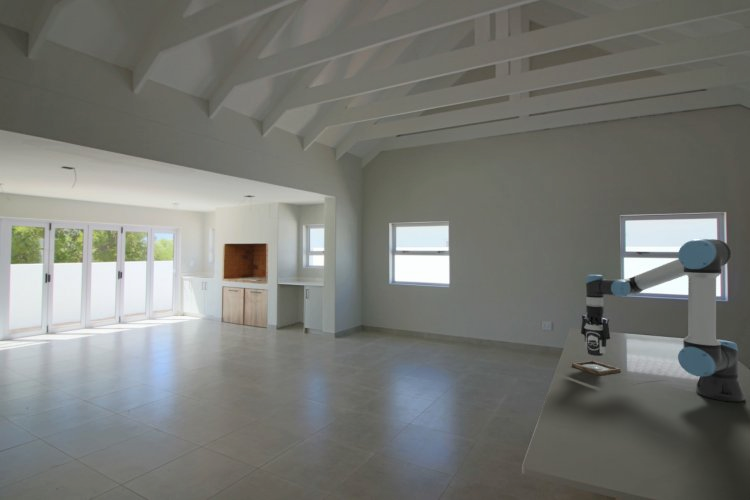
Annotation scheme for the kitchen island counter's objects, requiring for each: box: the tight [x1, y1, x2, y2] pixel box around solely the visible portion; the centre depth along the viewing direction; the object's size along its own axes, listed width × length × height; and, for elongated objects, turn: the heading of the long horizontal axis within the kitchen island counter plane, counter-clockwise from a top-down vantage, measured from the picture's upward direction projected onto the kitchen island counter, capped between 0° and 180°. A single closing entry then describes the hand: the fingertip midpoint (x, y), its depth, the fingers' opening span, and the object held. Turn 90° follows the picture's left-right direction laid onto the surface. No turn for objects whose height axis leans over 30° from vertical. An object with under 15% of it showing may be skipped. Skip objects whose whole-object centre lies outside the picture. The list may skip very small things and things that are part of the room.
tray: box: [571, 360, 622, 376], centre depth 198 cm, size 16×14×3 cm
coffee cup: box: [584, 323, 604, 357], centre depth 198 cm, size 10×10×15 cm
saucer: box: [582, 364, 610, 371], centre depth 198 cm, size 13×13×1 cm
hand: (595, 350), depth 198 cm, fingers closed on coffee cup, 7 cm apart
